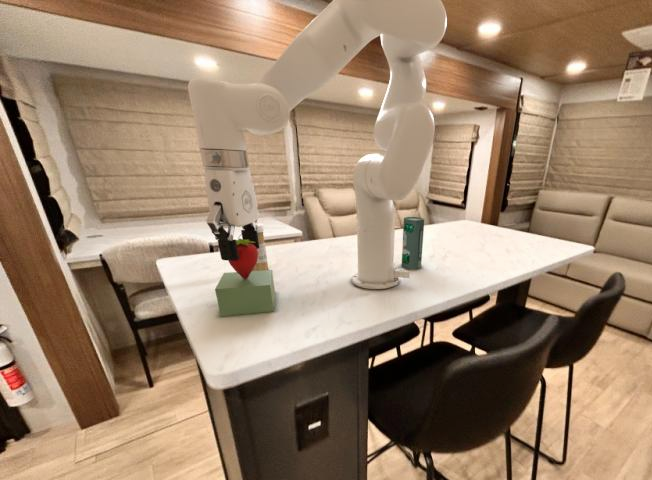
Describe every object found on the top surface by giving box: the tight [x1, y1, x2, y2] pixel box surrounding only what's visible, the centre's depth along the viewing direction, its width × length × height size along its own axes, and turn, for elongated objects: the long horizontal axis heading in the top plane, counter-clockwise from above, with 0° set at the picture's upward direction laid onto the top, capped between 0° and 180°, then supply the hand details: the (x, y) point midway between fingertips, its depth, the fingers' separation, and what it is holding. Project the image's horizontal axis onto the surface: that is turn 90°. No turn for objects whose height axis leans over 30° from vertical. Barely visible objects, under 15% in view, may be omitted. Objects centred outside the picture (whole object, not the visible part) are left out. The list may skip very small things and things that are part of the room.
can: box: [401, 216, 425, 271], centre depth 95 cm, size 6×6×15 cm
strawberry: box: [227, 232, 258, 279], centre depth 64 cm, size 6×8×10 cm
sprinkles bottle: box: [252, 222, 270, 271], centre depth 85 cm, size 5×5×14 cm
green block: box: [214, 269, 276, 317], centre depth 67 cm, size 10×10×6 cm
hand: (241, 253), depth 64 cm, fingers open, 8 cm apart
